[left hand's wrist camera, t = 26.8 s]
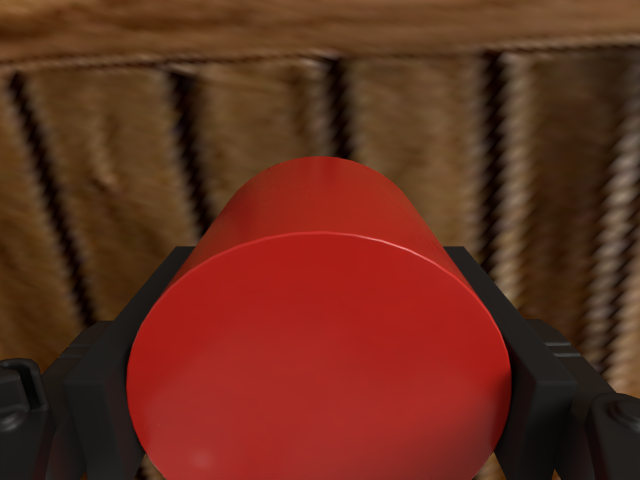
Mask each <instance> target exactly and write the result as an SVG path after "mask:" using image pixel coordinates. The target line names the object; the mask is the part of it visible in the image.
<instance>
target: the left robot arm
mask: <svg viewBox="0 0 640 480" xmlns="http://www.w3.org/2000/svg"><path fill="white" fill-rule="evenodd" d="M194 248H195V247H175V249H174V250H173V251H172V252H171V253H170V254H169V256H168V257H167V258H166V259H165V260H164V262H163V263H162V264H161V265H160V266H159V268H158V269H157V270H156V271H155V272H154V273H153V275H152V276H151V277H150V278H149V279H148V281H147V282H146V283H145V284H144V285H143V287H142V288H141V289H140V290H139V291H138V293H137V294H136V295H135V296H134V297H133V298H132V300H131V301H130V302H129V303H128V304H127V306H126V307H125V308H124V309H123V310H122V312H121V313H120V314H119V315H118V316H117V318H116V319H115V320H114V321H99V322H97V323H96V324H94V325H92V326H91V327H89V328H87V329H86V330H84V331H82V332H81V333H80V334H79V335H78V336H77V338H76V339H75V340H74V341H73V342H72V343H71V344H70V347H67V348H66V349H65V350H64V352H63V353H62V354H61V355H60V358H59V359H56V360H55V361H54V362H53V363H52V364H51V366H50V367H49V368H48V369H47V370H46V371H45V372H44V373H43V374H42V375H41V373H40V370H39V366H38V364H37V363H36V362H34V361H33V360H31V359H24V358H14V359H5V360H1V361H0V480H80V478H81V477H82V475H83V473H84V472H85V470H86V473H87V477H88V480H133V478H134V476H135V474H136V472H137V470H138V468H139V465H140V463H141V461H142V459H143V457H144V455H145V451H144V449H143V447H142V446H141V444H140V442H139V439H138V437H137V435H136V432H135V430H134V428H133V425H132V421H131V417H130V413H129V409H128V404H127V393H126V378H127V365H128V361H129V356H130V352H131V348H132V344H133V342H134V340H135V337H136V335H137V333H138V330H139V328H140V326H141V324H142V322H143V320H144V319H145V317H146V316H147V314H148V313H149V311H150V310H151V308H152V306H153V305H154V303H155V302H156V301H157V299H158V298H159V297H160V295H161V294H162V292H163V291H164V290H165V288H166V287H167V286H168V284H169V283H170V281H171V280H172V279H173V277H174V276H175V275H176V273H177V272H178V270H179V269H180V268H181V266H182V265H183V264H184V262H185V261H186V259H187V258H188V257H189V255H190V254H191V253H192V251H193V250H194ZM443 248H444V249H445V251H446V252H447V254H448V255H449V256H450V258H451V259H452V261H453V262H454V263H455V265H456V266H457V267H458V269H459V270H460V272H461V273H462V274H463V276H464V277H465V279H466V280H467V281H468V283H469V284H470V286H471V287H472V288H473V290H474V291H475V293H476V294H477V295H478V297H479V298H480V299H481V301H482V302H483V304H484V305H485V306H486V308H487V309H488V311H489V312H490V314H491V316H492V317H493V319H494V321H495V323H496V325H497V326H498V328H499V330H500V332H501V335H502V337H503V340H504V343H505V346H506V348H507V351H508V356H509V362H510V367H511V373H512V396H511V403H510V409H509V415H508V418H507V421H506V424H505V427H504V430H503V433H502V435H501V437H500V439H499V441H498V443H497V445H496V447H495V449H494V453H495V455H496V457H497V460H498V462H499V464H500V466H501V468H502V470H503V473H504V475H505V477H506V479H507V480H551V479H552V475H553V472H554V468H555V470H556V472H557V473H558V475H559V477H560V478H561V480H640V399H638V398H635V397H632V396H629V395H626V394H621V393H616V392H615V391H614V390H613V388H612V387H611V386H610V385H609V384H608V383H607V382H606V381H605V380H604V379H603V378H602V377H601V376H600V375H599V374H598V372H597V371H596V370H595V369H594V368H593V367H592V366H591V365H590V364H589V363H588V362H587V361H586V360H585V359H584V357H581V356H580V353H579V352H578V351H577V350H576V349H575V348H574V347H573V346H571V345H570V343H569V341H568V340H567V339H566V338H565V337H564V336H563V335H562V334H561V333H560V332H559V331H558V330H557V329H555V328H553V327H552V326H550V325H548V324H547V323H545V322H543V321H542V320H540V319H524V318H523V317H522V315H521V314H520V313H519V312H518V311H517V310H516V308H515V307H514V306H513V305H512V304H511V302H510V301H509V300H508V299H507V298H506V296H505V295H504V294H503V293H502V292H501V291H500V289H499V288H498V287H497V286H496V285H495V283H494V282H493V281H492V280H491V279H490V277H489V276H488V275H487V274H486V273H485V271H484V270H483V269H482V268H481V267H480V266H479V264H478V263H477V262H476V261H475V260H474V258H473V257H472V256H471V255H470V254H469V252H468V251H467V250H466V249H465V248H464V247H443Z"/></svg>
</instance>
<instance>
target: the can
mask: <svg viewBox="0 0 640 480" xmlns="http://www.w3.org/2000/svg"><path fill="white" fill-rule="evenodd" d="M126 393H127V404H128V409H129V413H130V417H131V421H132V425H133V428H134V430H135V432H136V435H137V437H138V439H139V442H140V444H141V446H142V447H143V449H144V451H145V452H146V454H147V456H148V457H149V459H150V460H151V462H152V463H153V464H154V466H155V467H156V468H157V469H158V470H159V472H160V473H161V474H162V475H163V477H164V478H165V479H166V480H472V478H473V477H474V476H475V475H476V474H477V473H478V472H479V471H480V470H481V468H482V467H483V466H484V464H485V463H486V462H487V460H488V459H489V457H490V456H491V454H492V453H493V451H494V449H495V447H496V445H497V443H498V441H499V439H500V437H501V435H502V433H503V430H504V427H505V424H506V421H507V418H508V415H509V409H510V403H511V396H512V373H511V367H510V362H509V356H508V351H507V348H506V346H505V343H504V340H503V337H502V335H501V332H500V330H499V328H498V326H497V325H496V323H495V321H494V319H493V317H492V316H491V314H490V312H489V311H488V309H487V308H486V306H485V305H484V304H483V302H482V301H481V299H480V298H479V297H478V295H477V294H476V293H475V291H474V290H473V288H472V287H471V286H470V284H469V283H468V281H467V280H466V279H465V277H464V276H463V274H462V273H461V272H460V270H459V269H458V267H457V266H456V265H455V263H454V262H453V261H452V259H451V258H450V256H449V255H448V254H447V252H446V251H445V249H444V248H443V247H442V245H441V244H440V242H439V241H438V240H437V238H436V237H435V235H434V234H433V233H432V231H431V230H430V229H429V227H428V226H427V224H426V223H425V222H424V220H423V219H422V217H421V216H420V215H419V213H418V212H417V210H416V209H415V208H414V206H413V205H412V203H411V202H410V201H409V200H408V198H407V197H406V196H405V195H404V193H403V192H402V191H401V190H400V189H399V188H398V187H397V186H396V185H395V184H394V183H393V182H391V181H390V180H389V179H387V178H386V177H384V176H383V175H382V174H380V173H378V172H376V171H375V170H373V169H371V168H369V167H367V166H364V165H362V164H359V163H356V162H354V161H350V160H345V159H341V158H335V157H324V156H318V157H304V158H298V159H292V160H289V161H286V162H282V163H279V164H276V165H274V166H272V167H270V168H268V169H266V170H264V171H262V172H260V173H259V174H257V175H256V176H254V177H253V178H251V179H250V180H249V181H248V182H246V183H245V184H244V185H243V186H242V187H241V188H240V189H239V190H238V191H237V192H236V193H235V194H234V195H233V197H232V198H231V199H230V200H229V202H228V203H227V204H226V206H225V207H224V209H223V210H222V211H221V213H220V214H219V215H218V217H217V218H216V220H215V221H214V222H213V224H212V225H211V226H210V228H209V229H208V231H207V232H206V233H205V235H204V236H203V237H202V239H201V240H200V242H199V243H198V244H197V246H196V247H195V248H194V250H193V251H192V253H191V254H190V255H189V257H188V258H187V259H186V261H185V262H184V264H183V265H182V266H181V268H180V269H179V270H178V272H177V273H176V275H175V276H174V277H173V279H172V280H171V281H170V283H169V284H168V286H167V287H166V288H165V290H164V291H163V292H162V294H161V295H160V297H159V298H158V299H157V301H156V302H155V303H154V305H153V306H152V308H151V310H150V311H149V313H148V314H147V316H146V317H145V319H144V320H143V322H142V324H141V326H140V328H139V330H138V333H137V335H136V337H135V340H134V342H133V344H132V348H131V352H130V356H129V361H128V365H127V378H126Z"/></svg>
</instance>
